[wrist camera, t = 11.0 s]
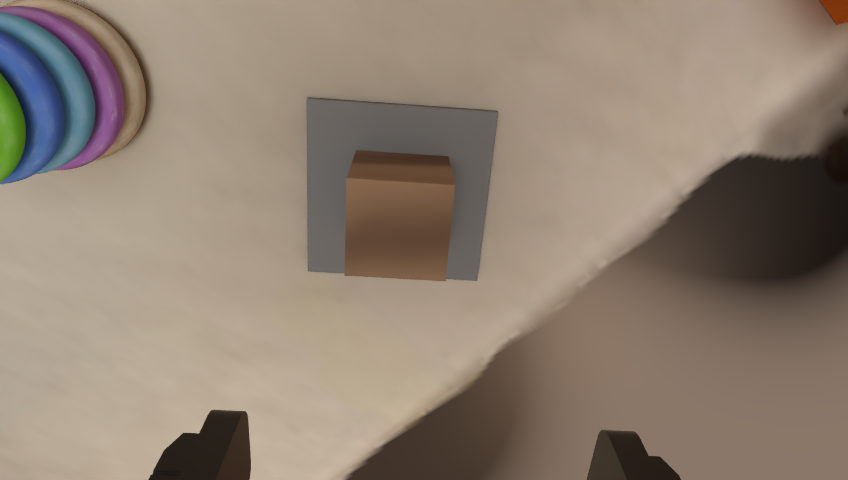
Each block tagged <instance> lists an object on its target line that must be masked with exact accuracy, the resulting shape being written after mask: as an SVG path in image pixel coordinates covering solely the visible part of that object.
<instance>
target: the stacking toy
mask: <svg viewBox="0 0 848 480" xmlns="http://www.w3.org/2000/svg"><path fill="white" fill-rule="evenodd" d="M145 106H146V91H145V83H144V79H143V75H142V72H141V69H140V66H139V64H138V62H137V60H136V58H135V56H134V54H133V52H132V51H131V49H130V48H129V46H128V45H127V43H126V42H125V41H124V40H123V38H122V37H121V36H120V35H119V34H118V33H117V31H116V30H115V29H114V28H113V27H111V26H110V25H109V24H108V23H107V22H105V21H104V20H103V19H102V18H100V17H99V16H97V15H96V14H94V13H93V12H91V11H89V10H87V9H85V8H83V7H81V6H79V5H76V4H74V3H71V2H68V1H64V0H17V1H14V2H11V3H9V4H7V5H5V6H3V7H0V184H5V183H11V182H16V181H19V180H23V179H25V178H28V177H30V176H32V175H34V174H40V173H45V172H49V171H52V170H67V169H73V168H77V167H80V166H83V165H86V164H88V163H90V162H92V161H94V160H98V159H102V158H105V157H107V156H110V155H112V154H114V153H116V152H117V151H119V150H120V149H122V148H123V147H124V146H125V145H126V144H127V143H128V142H129V141H130V140H131V139H132V138H133V137H134V136H135V134H136V133H137V131H138V129H139V128H140V125H141V123H142V120H143V117H144V113H145Z"/></svg>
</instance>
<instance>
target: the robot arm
mask: <svg viewBox="0 0 848 480" xmlns="http://www.w3.org/2000/svg"><path fill="white" fill-rule="evenodd" d="M250 471H251V457H250V442H249V426H248V415H247V413H246V412H245V411H226V410H212V411H210V413H209V414H208V416H207V418H206V420H205V422H204V425H203V427H202V429H201V431H200V433H199V434H196V433H183V434H182V435H181V436H180V437H178V438H177V439H176V440H175V441H174V442H173V443H172V444H171V445H170V446H168V447H167V448H166V449H165V450H164V452H163V454H162V456H161V457H160V459H159V461H158V463H157V465H156V467H155V469H154V470H153V475H151V476H150V478H149V480H249V479H250ZM587 480H681V479H680V477H679V475H678V474H677V473H676V472H675V471H674V470H673V469H672V468H671V467H670V466H669V465H668V464H667V463H666V462H665V461H664V460H663V459H662V458H661V457H657V456H648V454H647V452H646V450H645V448H644V446H643V444H642V442H641V439H640V438H639V436H638V434H637V433H636V432H633V431H612V430H601V431H600V432H599V435H598V438H597V441H596V445H595V449H594V453H593V458H592V461H591V465H590V469H589V473H588V477H587Z"/></svg>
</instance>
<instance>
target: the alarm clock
mask: <svg viewBox="0 0 848 480" xmlns="http://www.w3.org/2000/svg"><path fill="white" fill-rule="evenodd" d="M820 1H821V3H822V4H823V6H824V7H825V8H826V10H827V11H828V13H829V14H830V16H831V17H832V18H833V20H834V21H835V23H836V24H840V23H844V22H848V0H820Z"/></svg>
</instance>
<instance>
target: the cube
mask: <svg viewBox="0 0 848 480" xmlns="http://www.w3.org/2000/svg"><path fill="white" fill-rule="evenodd" d="M454 193H455V182H454V177H453V173H452V169H451V164H450V160H449V156H437V155H422V154H407V153H392V152H377V151H362V150H356V152H355V155H354V158H353V161H352V164H351V167H350V170H349V173H348V175H347V182H346V229H345V275H346V276H364V277H382V278H399V279H417V280H435V281H446V272H447V262H448V252H449V242H450V232H451V222H452V213H453V203H454Z"/></svg>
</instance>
